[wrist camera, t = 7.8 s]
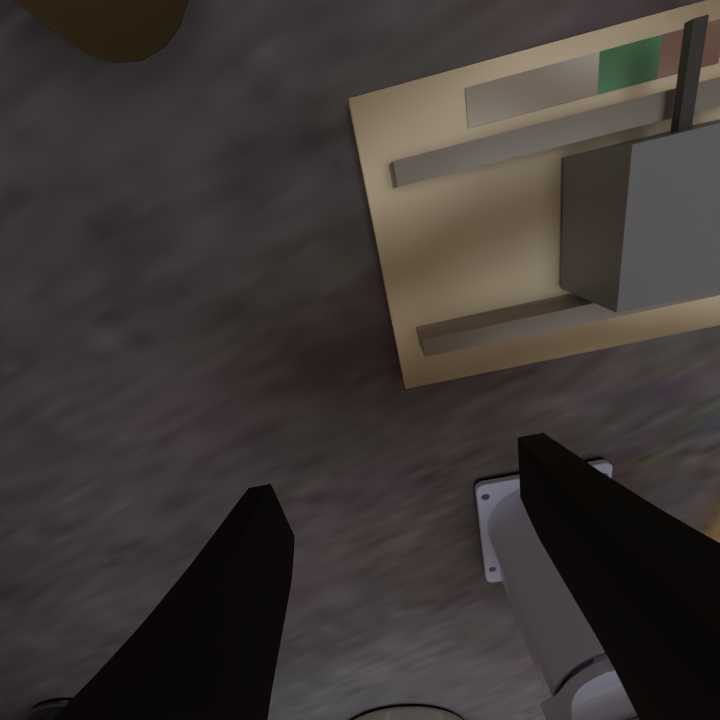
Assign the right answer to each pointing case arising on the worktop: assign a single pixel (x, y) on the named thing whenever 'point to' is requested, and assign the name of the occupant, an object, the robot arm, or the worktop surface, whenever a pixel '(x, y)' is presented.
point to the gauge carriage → (647, 207)
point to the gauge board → (515, 194)
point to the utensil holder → (409, 714)
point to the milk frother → (47, 710)
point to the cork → (111, 24)
